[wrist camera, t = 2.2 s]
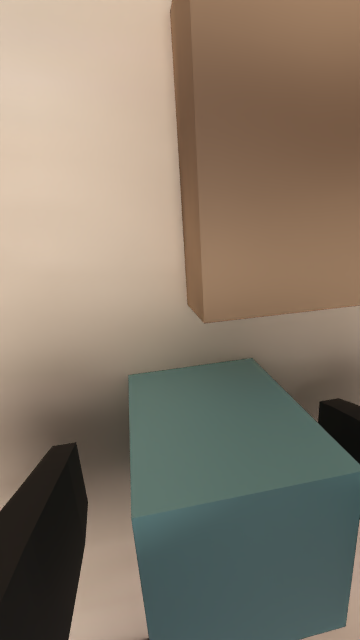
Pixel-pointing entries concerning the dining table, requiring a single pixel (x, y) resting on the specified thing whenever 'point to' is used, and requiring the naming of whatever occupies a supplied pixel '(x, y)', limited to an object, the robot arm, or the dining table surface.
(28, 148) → the dining table surface
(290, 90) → the walnut slab
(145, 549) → the teal block
